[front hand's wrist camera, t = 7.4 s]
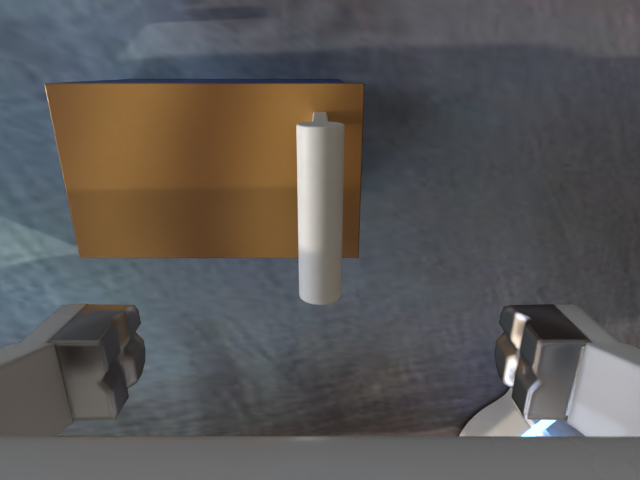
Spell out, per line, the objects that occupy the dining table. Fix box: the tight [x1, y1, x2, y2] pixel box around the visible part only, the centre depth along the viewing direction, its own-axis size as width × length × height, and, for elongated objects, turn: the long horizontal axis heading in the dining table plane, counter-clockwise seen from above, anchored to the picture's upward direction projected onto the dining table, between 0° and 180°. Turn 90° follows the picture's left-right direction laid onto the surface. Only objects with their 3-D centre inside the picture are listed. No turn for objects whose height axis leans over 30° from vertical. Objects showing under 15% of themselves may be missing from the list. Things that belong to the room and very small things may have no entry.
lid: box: [44, 83, 364, 305], centre depth 21 cm, size 16×10×9 cm, turn 90°
